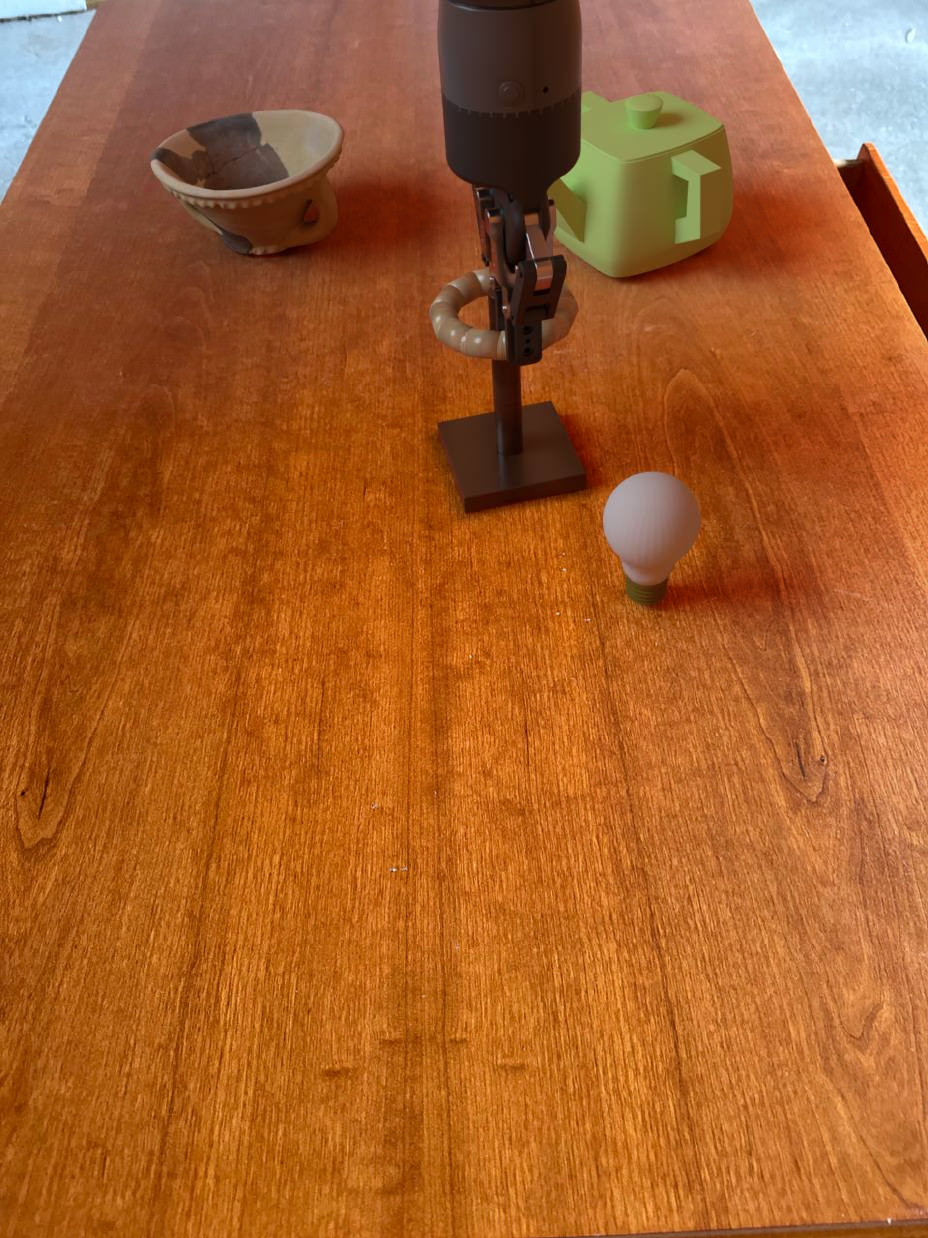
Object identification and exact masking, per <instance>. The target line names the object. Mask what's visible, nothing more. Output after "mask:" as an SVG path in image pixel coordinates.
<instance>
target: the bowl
mask: <svg viewBox="0 0 928 1238" xmlns="http://www.w3.org/2000/svg"><path fill="white" fill-rule="evenodd" d="M345 134H346V133H345V129H344V127H343V126H342V124H341V123H340V122H339V121H338V120H336V118H334V117H332V116H330V115H327V114H323V113H321V112H316V111H311V110H305V109H274V110H273V109H272V110H271V109H269V110H268V109H267V110H259V111H258V110H256V111H250V112H243V113H235V114H231V115H225V116H221V117H216V118H213V119H212V118H211V119H210V120H206V121H201V122H198V123H196V124H193V125H190V126H188V127H186V128H184V129H183V130H180V131H178V132H176V133H174V134H172V135H171V136H169V137H167V138H166V139H165V140H163V141H162V142H161V143H160V144H159V145H158V146H157V148H155V150H154V151H153V153H152V154H151V158H150V168H151V170H152V172H153V174H154V176H155V177H156V178H157V179H158V180H159V182H160V184H161V185H162V186H163V188H164V189H165V191H167V192H168V193H169V194H170V195H171V196H172V197H175V198H176V199H177V200H178V201H179V203H180V204H181V206H182V207H183V209H184V210H185V211H186V212H187V213H188V215H189V216H190V217H192V218H193V219H194V220H195V221H196V222H198V223H199V224H200V225H201V226H203V227H204V228H206V229H208V230H210V231H212V232H215V233H217V234H219V235H220V236H221V241H222V242H223V243H224V246H225V247H226V248H227V249H229V250H230V251H232V252H235V253H238V254H241V255H256V256H263V255H273V254H278V253H280V252H283V251H285V250H287V249H291V248H295V247H298V246H299V247H300V246H307V245H311V244H315V243H317V242H319V241H321V240H323V239H324V238H325V237H327V236H328V235H329V234H331V233H332V231H333V230H334V229H335V227H336V225H337V222H338V219H339V218H338V216H339V214H338V213H339V211H338V210H339V208H338V203H337V199H336V196H335V193H334V190H333V187H332V185H331V184H330V181H329V179H328V176H327V174H328V172H329V171H330V170H331V169H333V168H334V167H335V164H336V163H337V162H338V161H340V159H341V155H342V152H343V144H344V140H345ZM313 202H314V204H315V205H316V207H317V211H318V215H317V218H316V219H314V220H310V221H307V220H306V216H307V213H308V211H309V210H310V207H311V206H312V203H313Z"/></svg>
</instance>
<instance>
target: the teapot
mask: <svg viewBox="0 0 928 1238" xmlns="http://www.w3.org/2000/svg"><path fill="white" fill-rule="evenodd" d="M731 156H732V155H731V151H730V145H729V141H728V136H727V131H726V128H725V125H724V123H723V122H722V121H720V120H719V119H718V118H716V117H715V116H713V115H712V114H711V113H708V112H707V111H705V110H703V109H701V108H700V107H698V106H696V105H694V104H693V103H690V102H689V101H687V100H685V99H683V98H681V97H679V96H676V95H674V94H672V93H670V92H667V91H664V90H656V91H649V92H645V93H644V92H643V93H640V94H636V95H632V96H628V97H625V98H621V99H619V100H614V101H612V102H611V101H609V100H608V99H606V98H604V97H602V96H601V95H598V94H596V93H595V92H593V91H591V90H586V91H583V92H581V152H580V157H579V159H578V161H577V163H576V165H575V166H574V167H573V168H572V169H571V171H569V172H568V173H567V174H566V175H564V176H562V177H560V178H559V179H558V180H557V181H555V182H554V183H553V184H552V185H551V186H550V187H549V189H548V190H547V195H548V198H553V199H554V202H555V206H556V222H557V226H556V229H555V231H554V232H553V235H554V237H555V238H556V239H557V240H558V241H559V242H560V243H561V244H562V245H563V246H564V247H566V248H567V249H568V250H569V251H571V252H572V253H573V254H574V255H576V256H577V257H578V258H580V259H581V260H583V261H584V262H585V263H587V264H588V265H590V266H592V267H593V268H594V269H596V270H598V271H599V272H600V273H603V274H604V275H606V276H609V277H611V278H626V277H632V276H635V275H641V274H644V273H648V272H651V271H655V270H657V269H660V268H661V269H662V268H664V267H667V266H670V265H672V264H675V263H678V262H681V261H683V260H685V259H688V258H690V257H691V256H694V255H695V254H697V253H699V252H702V251H703V250H705V249H707V248H708V247H711V246H712V245H713V244H715V243H717V242H718V241H719V240H720V239H721V238H722V236H723V235H724V233H725V231H726V230H727V228H728V226H729V223H730V222H731V219H732V216H733V210H734V174H733V172H734V171H733V165H732V157H731Z"/></svg>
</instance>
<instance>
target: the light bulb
mask: <svg viewBox="0 0 928 1238" xmlns="http://www.w3.org/2000/svg"><path fill="white" fill-rule="evenodd" d="M701 518H702V517H701V509H700V506H699V503H698V500H697V498H696V496H695V494H694V493H693V491H692V490H691V488H690V487H689V486H688V485H687V484H686V483H685V482H684V481H682V480H681V479H680V478H678V477H676V476H674V475H672V474H669V473H667V472H664V471H663V472H662V471H655V470H654V471H643V472H639V473H636V474H633V475H631V476H629V477H628V478H625V479H624V480H623V481H621V482H620V483H619V484H618V485H617V486H616V487H615V488H614V489H613V491H612V492H611V494H610V495H609V497H608V499H607V500H606V503H605V506H604V509H603V516H602V526H603V532H604V535H605V538H606V541H607V543H608V545H609V547H610V548H611V550H612V552H614V553H615V554H616V555H617V557H619V559H621V565H622V568H623V571H624V573H625V574H624V575H625V594H626V595H627V597H628V598H629V600H631V601H632V602H634V603H636V604H638V605H642V606H650V605H655V604H658V603H660V602H661V601H663V599H664V598H665V596H666V595H667V589H668V588H667V587H668V583H669V577H670V575H671V574H672V572H673V571H674V569H675V566H676V564H677V563H678V562H679V561H680V560H681V559H683V558H684V557H685V556H686V555H688V553H689V552H690V550H691V549H692V548H693V547H694V545H695V543H696V541H697V539H698V537H699V534H700V529H701V522H702V519H701Z"/></svg>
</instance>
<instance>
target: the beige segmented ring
mask: <svg viewBox="0 0 928 1238" xmlns="http://www.w3.org/2000/svg"><path fill="white" fill-rule="evenodd" d="M489 277H490V274H489V267H485V268H480V269H475V270H470V271H468V272H467V273H465V274H463V275H461V276H460V277H458V278H456V279H454V280H451V281H450V282H448V283H447V284H445V285H444V286H443V287H441V289H440V290H439V292H438V294H437V295H436V297H435V299H434V300H433V302H432V304H431V305H430V307H429V310H428V316H429V317H428V318H429V321H430V323H431V326H432V328H433V331H434V334H435V337H436V338H437V340H438V341H439V342H441V343H442V344H444V345H445V346H447V347H449V348H450V349H452V350H454V351H455V352H458V353H459V354H461V355H463V356H465V357H468V358H475V359H476V358H477V359H485V360H491V359H493V360H507V358H506V346H505V331H494V330H490V329H487V328H486V329H485V328H476V327H473V326H471V325H469V324H468V323H466V322H464V321H462V320H460V318H459V313H460V312H461V310H462V308H463V307H465V306H467V305H469V304H471V303H472V302H474V301H476V300H478V299H479V298H484V297H488V289H489V288H490V287H491V285H490V284H489ZM578 314H579V305H578V301H577V300H576V298H575V296H574V294H573V292H572V290H571V289H570V287H569V284H568V283H567V281H565V280H564V284H563V287H562V291H561V295H560V298H559V302H558V305H557V309H556V313H555V316H554V319H548V320H543V321H542V352H544V351H545V350H547V349H548V348H550V347H552V346H553V345H555V344H557V343H559V342H560V341H562V340H563V339H565V338H566V337H567V336H568V335H569V334H570V331H571V329H572V326H573V324H574V323H575V320H576V318H577V315H578Z"/></svg>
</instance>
